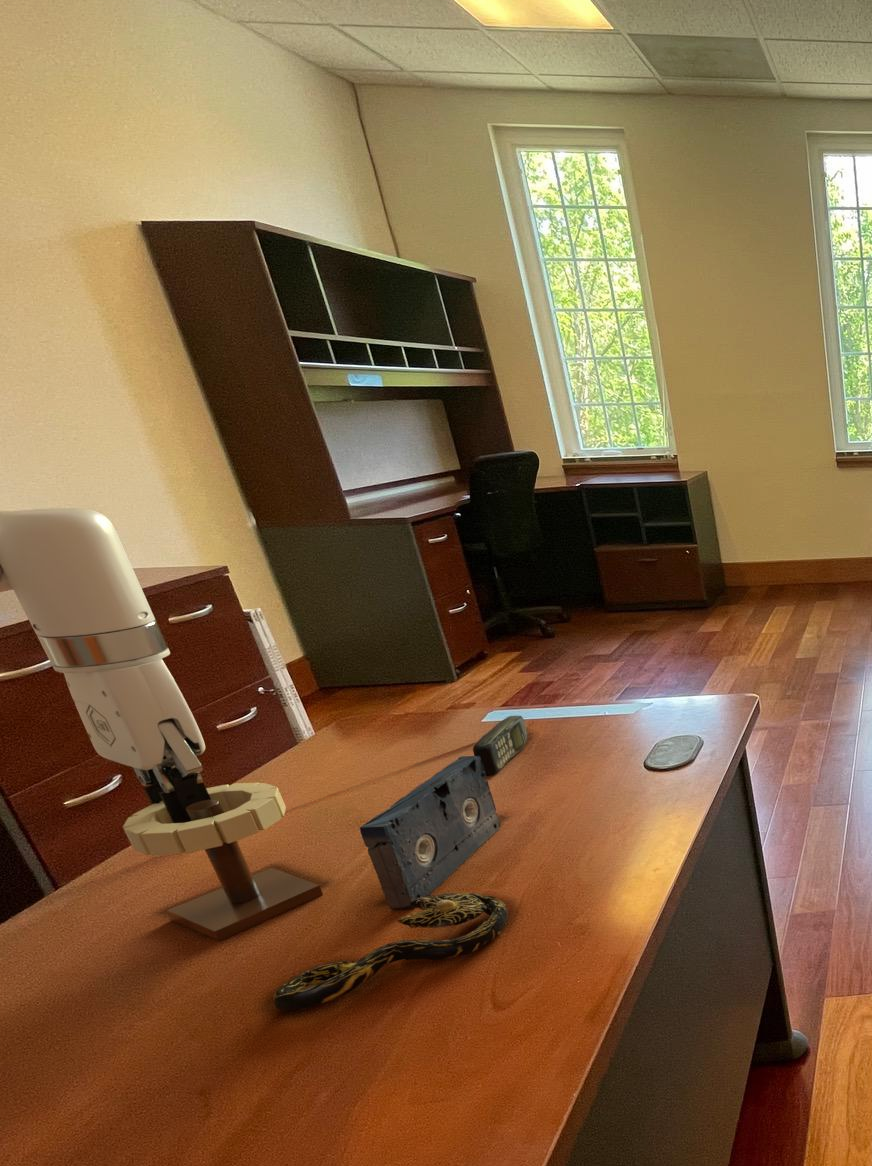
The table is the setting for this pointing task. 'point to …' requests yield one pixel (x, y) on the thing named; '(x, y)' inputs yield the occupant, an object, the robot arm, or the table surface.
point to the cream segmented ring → (207, 821)
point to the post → (238, 889)
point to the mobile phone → (501, 743)
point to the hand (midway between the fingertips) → (189, 817)
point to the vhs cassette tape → (431, 831)
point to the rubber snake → (400, 948)
